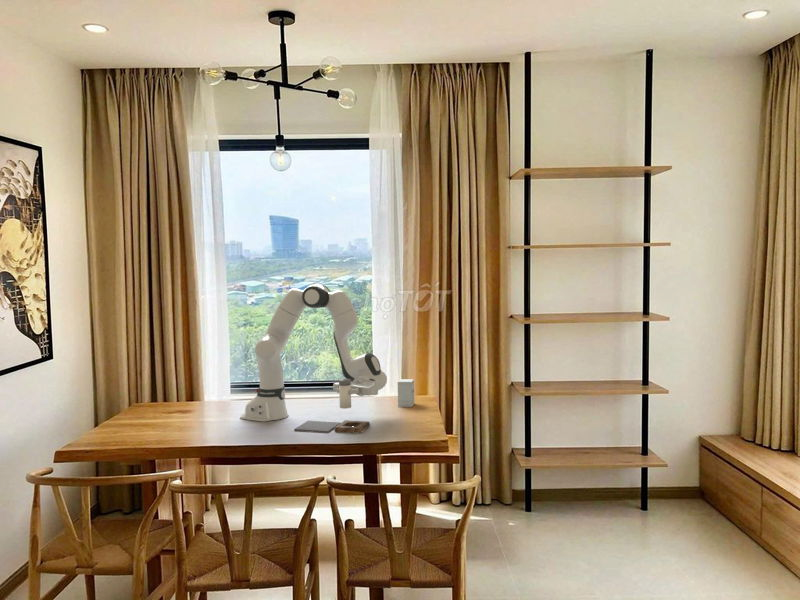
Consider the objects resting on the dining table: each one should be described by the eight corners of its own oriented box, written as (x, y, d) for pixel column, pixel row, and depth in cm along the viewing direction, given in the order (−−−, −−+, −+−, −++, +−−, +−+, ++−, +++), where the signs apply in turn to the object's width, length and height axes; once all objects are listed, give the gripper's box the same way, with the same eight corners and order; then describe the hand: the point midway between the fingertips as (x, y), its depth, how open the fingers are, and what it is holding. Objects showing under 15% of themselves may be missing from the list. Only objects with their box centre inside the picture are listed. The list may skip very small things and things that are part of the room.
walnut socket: (334, 431, 272) (334, 427, 272) (345, 424, 283) (344, 420, 283) (360, 433, 268) (360, 428, 268) (369, 426, 279) (369, 421, 279)
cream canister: (337, 408, 274) (336, 380, 273) (342, 405, 279) (341, 378, 278) (348, 408, 272) (348, 381, 271) (353, 406, 277) (352, 379, 276)
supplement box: (412, 407, 312) (411, 381, 311) (397, 406, 313) (397, 381, 312) (415, 403, 319) (414, 378, 318) (400, 403, 321) (400, 378, 320)
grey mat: (294, 430, 275) (294, 428, 275) (308, 422, 288) (308, 420, 288) (328, 432, 270) (328, 431, 270) (340, 424, 284) (340, 422, 284)
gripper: (343, 376, 291) (324, 382, 279) (380, 380, 280) (362, 386, 269) (344, 390, 292) (325, 396, 280) (380, 394, 281) (362, 401, 269)
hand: (343, 391), depth 274 cm, fingers closed on cream canister, 5 cm apart
